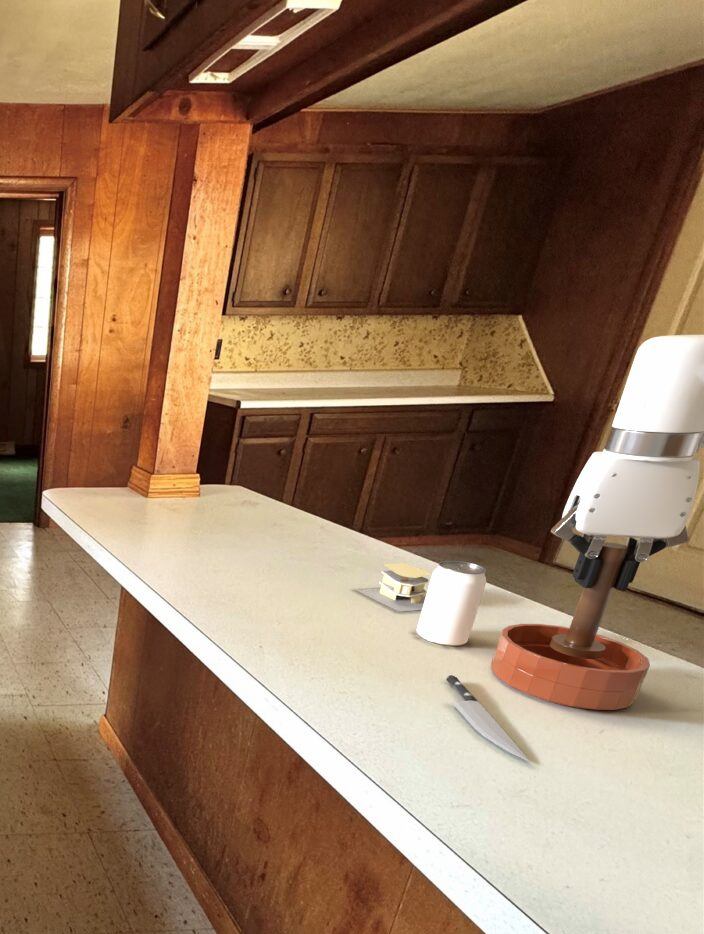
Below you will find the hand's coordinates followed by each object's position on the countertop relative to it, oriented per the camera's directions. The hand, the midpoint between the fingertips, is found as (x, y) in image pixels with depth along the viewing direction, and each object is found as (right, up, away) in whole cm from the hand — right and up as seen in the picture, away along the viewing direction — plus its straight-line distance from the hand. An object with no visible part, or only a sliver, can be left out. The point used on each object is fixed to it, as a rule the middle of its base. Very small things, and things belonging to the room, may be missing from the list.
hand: (599, 584), depth 86 cm
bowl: (-1, -14, +4) cm, 15 cm away
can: (-6, -9, +18) cm, 21 cm away
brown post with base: (0, -9, +3) cm, 10 cm away
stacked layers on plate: (-2, -3, +33) cm, 33 cm away
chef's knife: (-18, -17, -2) cm, 25 cm away
